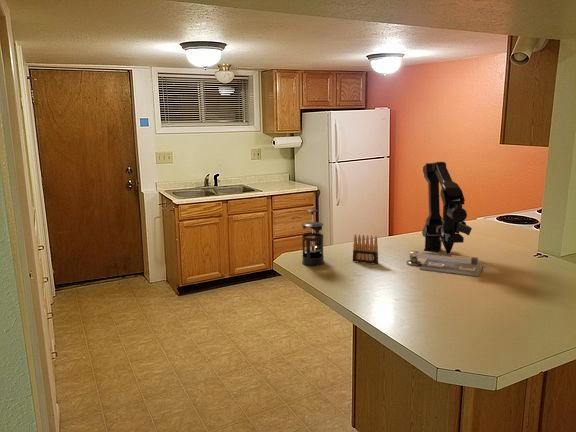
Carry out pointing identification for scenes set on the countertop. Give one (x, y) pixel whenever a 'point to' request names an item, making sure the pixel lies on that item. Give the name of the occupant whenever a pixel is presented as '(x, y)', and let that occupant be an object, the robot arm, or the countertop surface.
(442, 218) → the robot arm
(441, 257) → the cable arm
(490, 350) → the countertop surface
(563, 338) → the countertop surface
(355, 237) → the ammunition clip
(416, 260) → the pivot post
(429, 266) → the label board
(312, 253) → the french press
